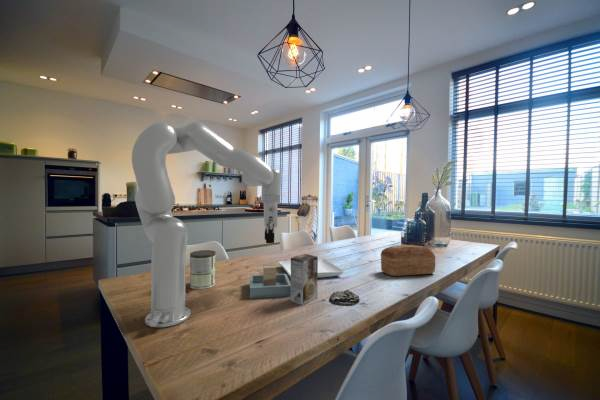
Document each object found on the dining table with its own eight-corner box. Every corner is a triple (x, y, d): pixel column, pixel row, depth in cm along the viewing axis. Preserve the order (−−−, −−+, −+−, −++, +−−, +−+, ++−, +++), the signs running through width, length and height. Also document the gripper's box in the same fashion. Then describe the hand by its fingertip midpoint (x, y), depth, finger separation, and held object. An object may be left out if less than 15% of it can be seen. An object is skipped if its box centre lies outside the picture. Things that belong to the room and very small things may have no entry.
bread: (376, 271, 137) (377, 244, 136) (422, 268, 143) (423, 242, 143) (389, 278, 125) (390, 248, 125) (439, 275, 131) (439, 247, 131)
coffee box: (304, 294, 103) (305, 253, 103) (317, 298, 99) (318, 256, 99) (289, 300, 96) (290, 257, 96) (303, 305, 92) (303, 260, 92)
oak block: (276, 289, 105) (276, 267, 105) (263, 289, 104) (263, 267, 104) (274, 285, 110) (275, 264, 110) (263, 285, 109) (263, 264, 109)
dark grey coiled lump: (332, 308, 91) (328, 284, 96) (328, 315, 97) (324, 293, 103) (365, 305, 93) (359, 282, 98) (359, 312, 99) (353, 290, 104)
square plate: (277, 267, 142) (277, 260, 142) (323, 264, 151) (323, 257, 151) (290, 283, 117) (290, 274, 117) (345, 278, 125) (345, 270, 125)
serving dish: (291, 296, 101) (291, 285, 101) (249, 298, 98) (249, 287, 98) (286, 282, 116) (286, 273, 116) (249, 284, 113) (250, 275, 113)
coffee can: (187, 284, 113) (187, 251, 112) (210, 279, 119) (211, 249, 119) (193, 291, 104) (193, 256, 104) (218, 286, 110) (218, 253, 110)
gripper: (282, 199, 99) (280, 244, 99) (277, 200, 116) (276, 238, 116) (262, 199, 97) (260, 244, 97) (260, 199, 114) (259, 238, 114)
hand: (269, 241), depth 106 cm, fingers open, 9 cm apart
